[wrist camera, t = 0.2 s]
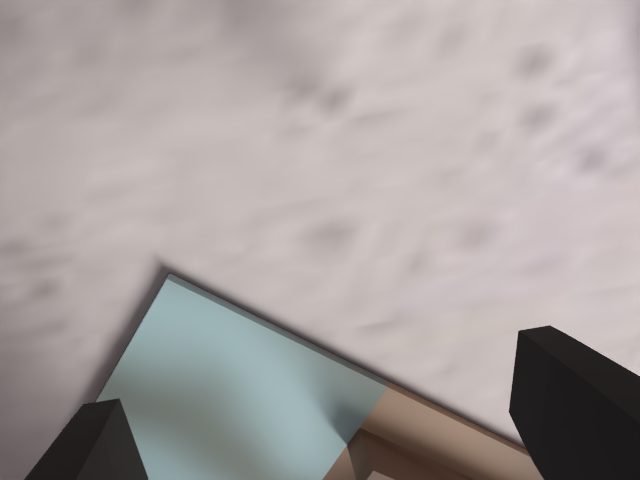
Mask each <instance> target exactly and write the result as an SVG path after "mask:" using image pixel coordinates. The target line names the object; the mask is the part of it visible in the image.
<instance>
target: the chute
mask: <svg viewBox="0 0 640 480" xmlns="http://www.w3.org/2000/svg"><path fill="white" fill-rule="evenodd" d="M118 398H120V401H121V403H122V406H123V409H124V412H125V415H126V417H127V420H128V423H129V426H130V428H131V431H132V434H133V437H134V440H135V442H136V445H137V448H138V451H139V454H140V456H141V459H142V462H143V465H144V467H145V470H146V473H147V476H148V480H544V479H543V477H542V476H541V474H540V473H539V471H538V469H537V468H536V466H535V465H534V463H533V461H532V459H531V457H530V455H529V453H528V451H527V450H526V449H524V448H522V447H520V446H518V445H516V444H514V443H512V442H510V441H508V440H506V439H504V438H502V437H500V436H498V435H496V434H494V433H492V432H490V431H488V430H486V429H484V428H482V427H480V426H478V425H476V424H474V423H472V422H470V421H468V420H466V419H464V418H462V417H460V416H458V415H456V414H453V413H451V412H449V411H447V410H445V409H443V408H441V407H439V406H437V405H435V404H433V403H431V402H429V401H427V400H425V399H423V398H421V397H419V396H417V395H415V394H413V393H411V392H409V391H407V390H405V389H403V388H401V387H399V386H397V385H395V384H393V383H391V382H389V381H387V380H385V379H383V378H381V377H379V376H377V375H375V374H373V373H371V372H369V371H367V370H364V369H362V368H360V367H358V366H356V365H354V364H352V363H350V362H348V361H346V360H344V359H342V358H340V357H338V356H336V355H334V354H332V353H330V352H328V351H326V350H324V349H322V348H320V347H318V346H316V345H314V344H312V343H310V342H308V341H306V340H304V339H302V338H300V337H298V336H296V335H294V334H292V333H290V332H288V331H286V330H284V329H282V328H280V327H277V326H275V325H273V324H271V323H269V322H267V321H265V320H263V319H261V318H259V317H257V316H255V315H253V314H251V313H249V312H247V311H245V310H243V309H241V308H239V307H237V306H235V305H233V304H231V303H229V302H227V301H225V300H223V299H221V298H219V297H217V296H215V295H213V294H211V293H209V292H207V291H205V290H203V289H201V288H199V287H197V286H195V285H193V284H191V283H188V282H186V281H184V280H182V279H180V278H178V277H176V276H174V275H172V274H170V273H169V275H168V276H167V278H166V280H165V281H164V283H163V285H162V287H161V288H160V290H159V292H158V294H157V295H156V297H155V299H154V301H153V302H152V304H151V306H150V307H149V309H148V311H147V313H146V314H145V316H144V318H143V320H142V321H141V323H140V325H139V327H138V328H137V330H136V332H135V333H134V335H133V337H132V339H131V340H130V342H129V344H128V346H127V347H126V349H125V351H124V353H123V354H122V356H121V358H120V359H119V361H118V363H117V365H116V366H115V368H114V370H113V372H112V373H111V375H110V377H109V379H108V380H107V382H106V384H105V385H104V387H103V389H102V391H101V392H100V394H99V396H98V398H97V399H96V401H95V402H100V401H106V400H112V399H118Z"/></svg>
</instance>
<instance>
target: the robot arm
mask: <svg viewBox="0 0 640 480" xmlns="http://www.w3.org/2000/svg"><path fill="white" fill-rule="evenodd" d="M509 413H510V415H511V417H512V420H513V422H514V424H515V426H516V428H517V430H518V432H519V435H520V437H521V439H522V441H523V443H524V445H525V447H526V449H527V451H528V453H529V455H530V457H531V459H532V461H533V463H534V465H535V466H536V468H537V469H538V471H539V473H540V474H541V476H542V477H543V479H544V480H640V376H638V375H636V374H635V373H633V372H631V371H629V370H628V369H626V368H624V367H622V366H621V365H619V364H617V363H616V362H614V361H612V360H610V359H609V358H607V357H605V356H603V355H602V354H600V353H598V352H597V351H595V350H593V349H591V348H590V347H588V346H586V345H584V344H583V343H581V342H579V341H577V340H576V339H574V338H572V337H570V336H569V335H567V334H565V333H563V332H561V331H559V330H558V329H556V328H554V327H552V326H544V327H538V328H532V329H526V330H520V331H519V332H518V340H517V349H516V357H515V366H514V374H513V382H512V391H511V399H510V407H509ZM24 480H148V476H147V473H146V470H145V467H144V465H143V462H142V459H141V456H140V454H139V451H138V448H137V445H136V442H135V440H134V437H133V434H132V431H131V428H130V426H129V423H128V420H127V417H126V415H125V412H124V409H123V406H122V403H121V401H120V398H118V399H112V400H106V401H100V402H94V403H88V404H83V405H82V406H81V408H80V409H79V410H78V412H77V413H76V414H75V415H74V416H73V418H72V419H71V420H70V421H69V423H68V424H67V425H66V426H65V428H64V429H63V430H62V432H61V433H60V434H59V436H58V437H57V438H56V439H55V441H54V442H53V443H52V445H51V446H50V447H49V448H48V450H47V451H46V452H45V454H44V455H43V456H42V458H41V459H40V460H39V461H38V463H37V464H36V465H35V466H34V468H33V469H32V470H31V472H30V473H29V474H28V475H27V477H26V478H25V479H24Z"/></svg>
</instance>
